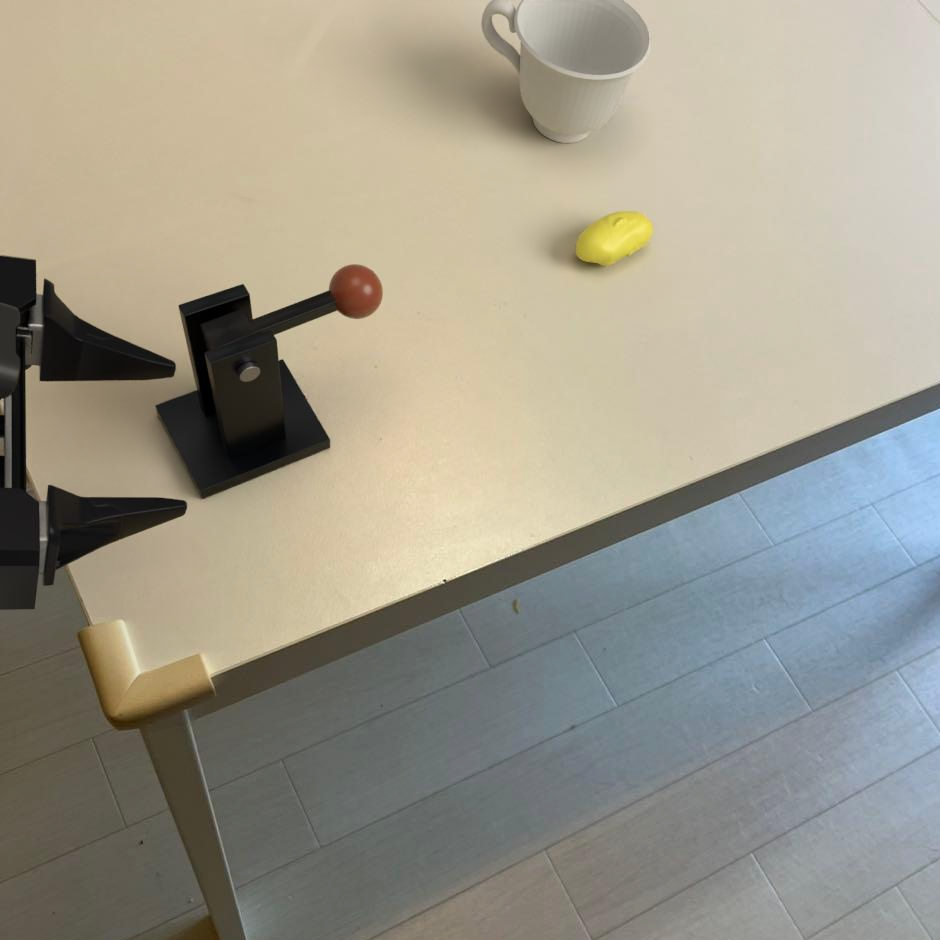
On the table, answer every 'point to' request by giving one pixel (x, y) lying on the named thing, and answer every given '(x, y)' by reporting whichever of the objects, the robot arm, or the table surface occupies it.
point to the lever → (303, 308)
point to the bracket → (237, 404)
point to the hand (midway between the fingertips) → (180, 436)
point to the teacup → (571, 59)
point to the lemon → (614, 237)
